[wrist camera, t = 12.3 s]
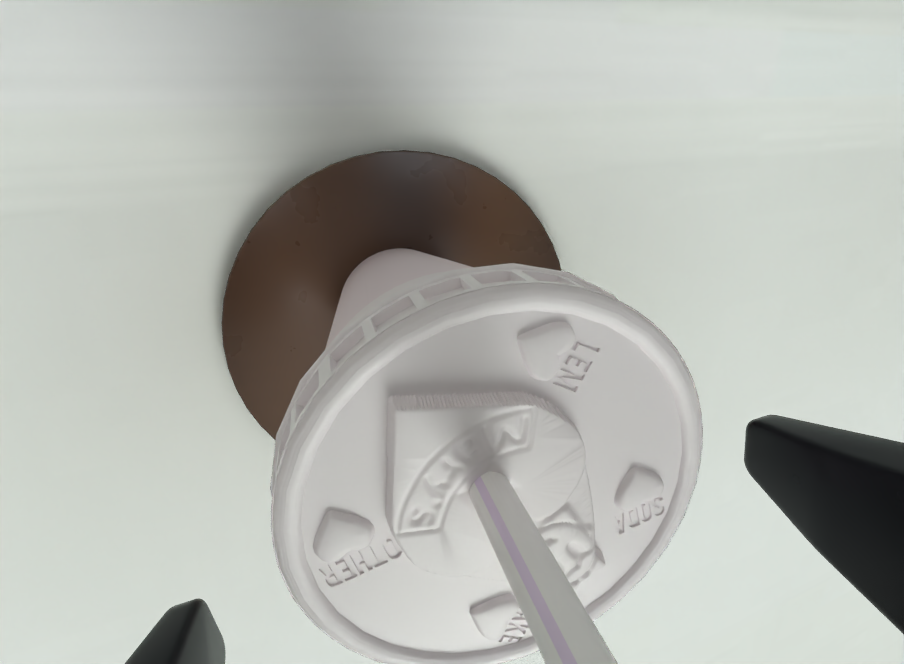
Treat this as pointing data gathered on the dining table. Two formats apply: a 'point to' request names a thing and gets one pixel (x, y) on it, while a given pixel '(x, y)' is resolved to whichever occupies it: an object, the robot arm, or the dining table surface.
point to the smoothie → (480, 463)
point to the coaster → (356, 256)
